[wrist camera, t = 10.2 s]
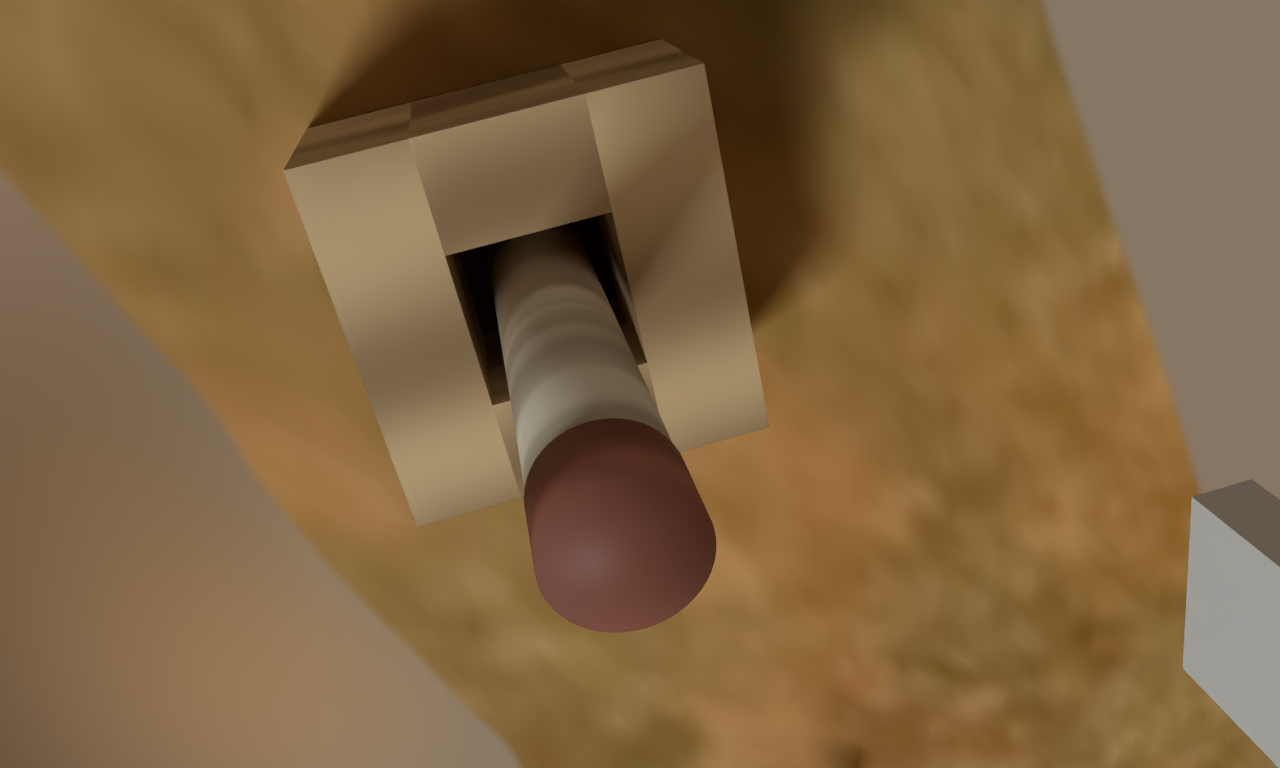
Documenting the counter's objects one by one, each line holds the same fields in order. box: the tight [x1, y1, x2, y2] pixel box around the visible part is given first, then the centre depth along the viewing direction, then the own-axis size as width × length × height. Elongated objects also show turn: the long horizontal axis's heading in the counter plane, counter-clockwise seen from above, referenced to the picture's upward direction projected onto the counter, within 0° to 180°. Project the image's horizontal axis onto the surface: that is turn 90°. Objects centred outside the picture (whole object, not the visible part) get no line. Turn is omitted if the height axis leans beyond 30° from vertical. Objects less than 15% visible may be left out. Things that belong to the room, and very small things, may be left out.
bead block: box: [283, 39, 769, 527], centre depth 28 cm, size 10×10×5 cm
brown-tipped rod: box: [487, 223, 716, 632], centre depth 23 cm, size 3×3×16 cm
